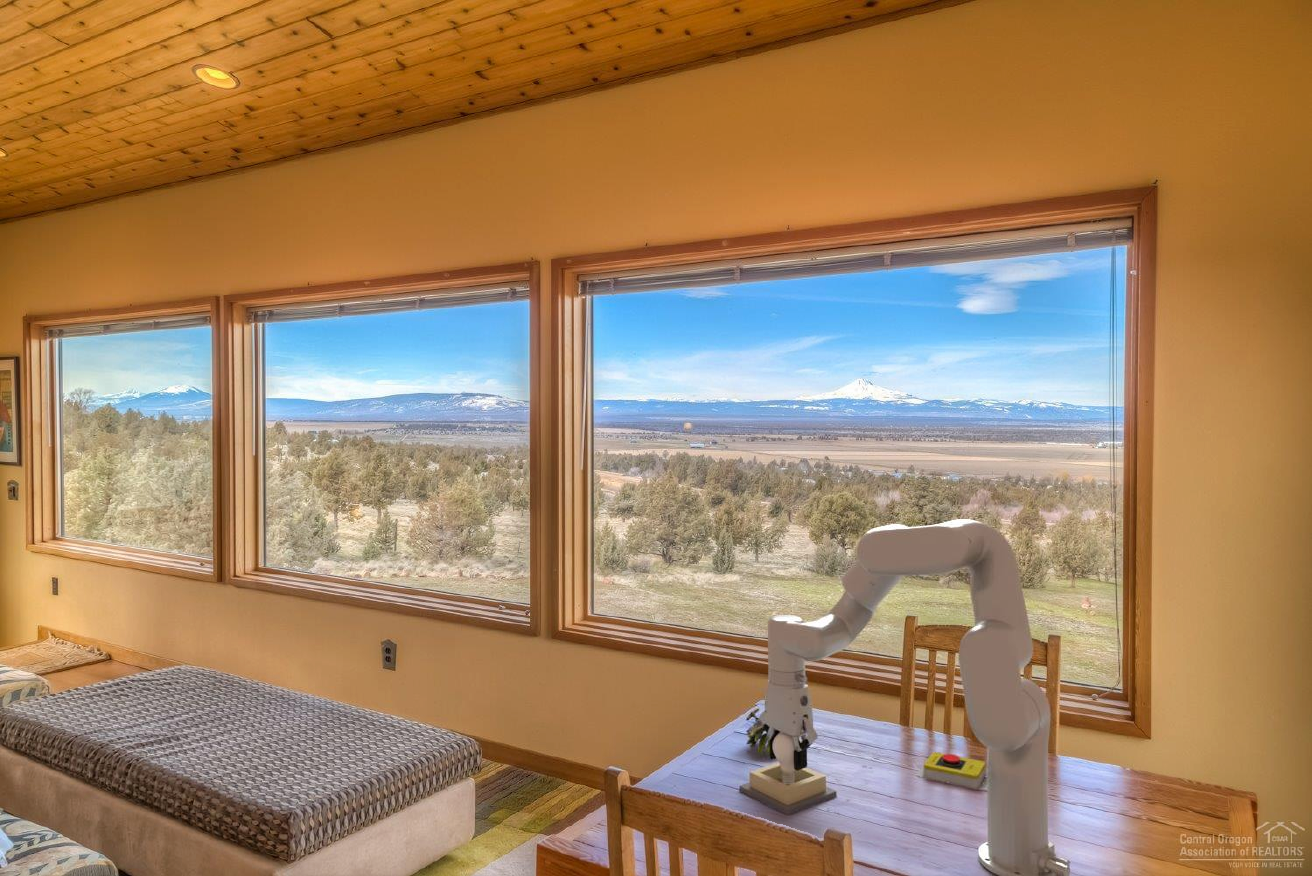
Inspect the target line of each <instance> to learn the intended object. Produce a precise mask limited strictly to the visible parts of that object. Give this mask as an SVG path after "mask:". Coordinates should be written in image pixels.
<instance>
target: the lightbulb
mask: <svg viewBox="0 0 1312 876" xmlns="http://www.w3.org/2000/svg"><path fill="white" fill-rule="evenodd" d="M799 740H800V743H801V742H802V739H801V737H799ZM772 748H773V752H774V755H775V756H776V758H777V759H776V760H777V762H779V763H780V768H781V770H782V783H784V784H786V785H790V784H793V783H795V769H794V750H796V747H795V744H794V740H793V737H792V736H791V735H788V734H785V733H783V732H780V733H779V734H778V735H777V736H776V737H775V738H774V741H773V745H772Z"/></svg>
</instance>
